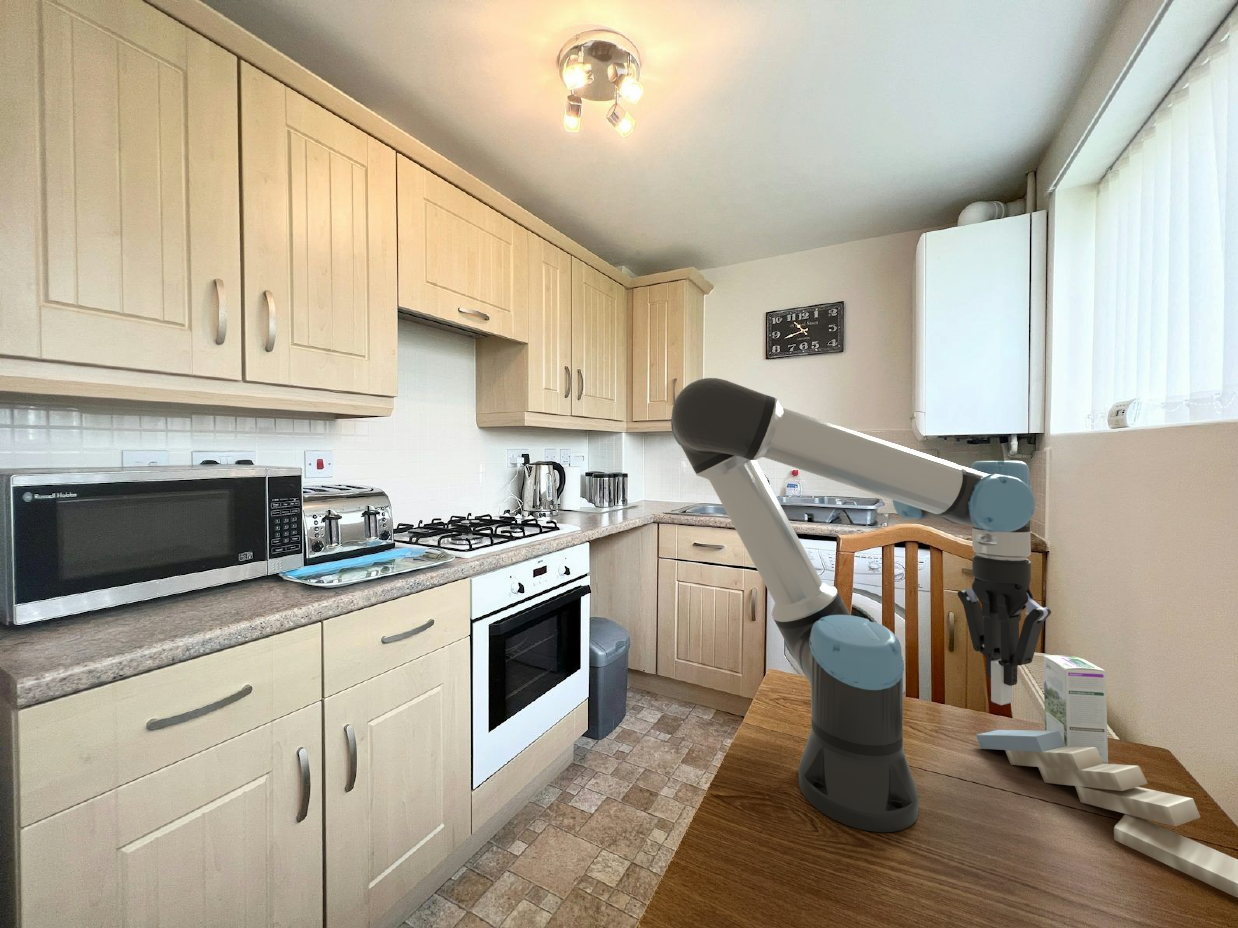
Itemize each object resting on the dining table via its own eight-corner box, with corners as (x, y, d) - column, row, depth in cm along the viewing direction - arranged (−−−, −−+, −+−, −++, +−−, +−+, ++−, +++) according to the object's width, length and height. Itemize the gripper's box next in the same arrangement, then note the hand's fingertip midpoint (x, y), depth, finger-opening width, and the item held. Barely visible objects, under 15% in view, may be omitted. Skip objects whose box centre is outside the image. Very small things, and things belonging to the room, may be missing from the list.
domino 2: (1004, 749, 77) (1071, 753, 69) (1028, 744, 79) (1096, 747, 70) (1010, 764, 76) (1079, 770, 68) (1034, 758, 78) (1103, 763, 69)
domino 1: (975, 734, 81) (1035, 736, 73) (997, 729, 83) (1059, 730, 74) (981, 748, 81) (1042, 751, 72) (1003, 743, 82) (1065, 745, 74)
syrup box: (1110, 764, 76) (1109, 669, 76) (1065, 759, 77) (1064, 667, 78) (1083, 743, 82) (1082, 656, 82) (1042, 740, 83) (1041, 653, 83)
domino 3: (1037, 766, 73) (1113, 772, 64) (1061, 760, 74) (1138, 765, 66) (1044, 782, 72) (1122, 790, 63) (1068, 775, 73) (1147, 783, 65)
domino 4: (1075, 785, 68) (1167, 806, 59) (1099, 778, 70) (1193, 798, 61) (1080, 802, 68) (1175, 826, 59) (1104, 794, 69) (1200, 817, 60)
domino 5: (1113, 827, 61) (1243, 885, 52) (1127, 811, 64) (1252, 865, 55) (1114, 843, 61) (1243, 904, 52) (1127, 827, 64) (1252, 883, 55)
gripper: (945, 550, 85) (946, 688, 85) (1030, 565, 73) (1031, 725, 73) (975, 548, 88) (976, 681, 88) (1062, 561, 75) (1064, 716, 75)
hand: (1001, 701), depth 80 cm, fingers closed
